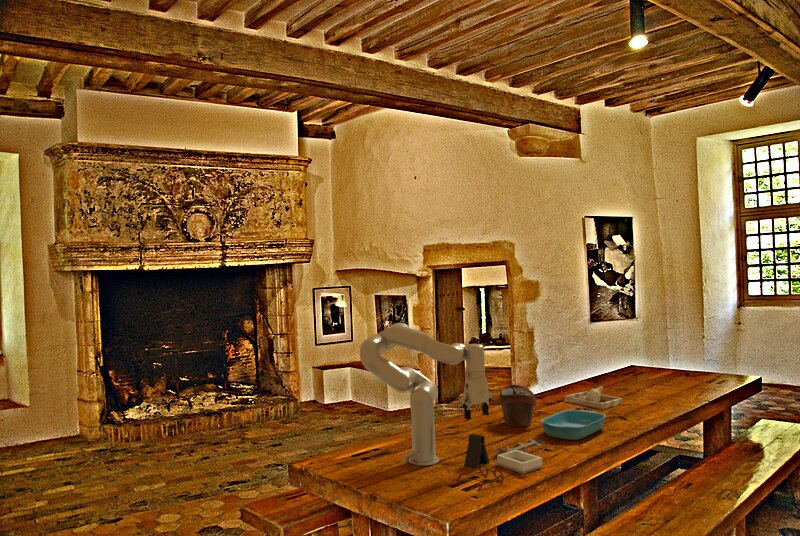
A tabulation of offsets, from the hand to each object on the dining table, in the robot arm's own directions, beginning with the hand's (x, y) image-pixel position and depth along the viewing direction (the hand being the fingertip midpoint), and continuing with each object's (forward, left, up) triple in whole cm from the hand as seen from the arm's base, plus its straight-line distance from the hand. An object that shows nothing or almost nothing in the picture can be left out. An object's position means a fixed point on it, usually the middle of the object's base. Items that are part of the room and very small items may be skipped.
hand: (476, 416), depth 282 cm
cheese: (+121, +38, -20) cm, 128 cm away
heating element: (+28, +3, -20) cm, 34 cm away
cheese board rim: (+121, +37, -19) cm, 128 cm away
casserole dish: (+67, +6, -20) cm, 70 cm away
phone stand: (0, 0, -20) cm, 20 cm away
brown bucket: (+58, +33, -20) cm, 70 cm away
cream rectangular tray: (+11, -13, -19) cm, 26 cm away
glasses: (-14, -16, -20) cm, 29 cm away
